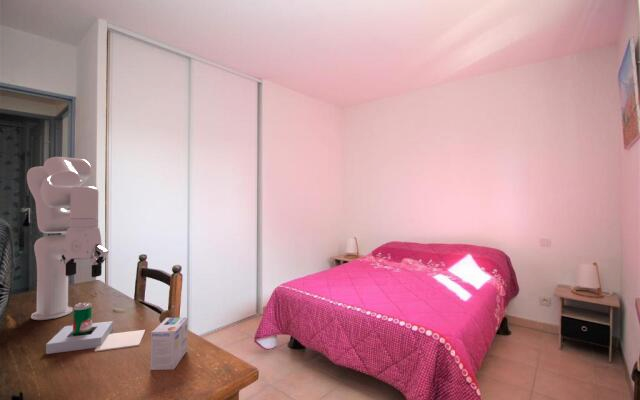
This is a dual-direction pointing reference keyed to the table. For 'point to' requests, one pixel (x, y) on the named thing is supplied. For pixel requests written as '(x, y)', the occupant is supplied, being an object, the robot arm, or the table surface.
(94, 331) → the collar
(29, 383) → the table surface
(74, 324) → the soda can
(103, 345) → the mat
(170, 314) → the snail figurine
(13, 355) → the table surface
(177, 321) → the light bulb box
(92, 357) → the table surface
